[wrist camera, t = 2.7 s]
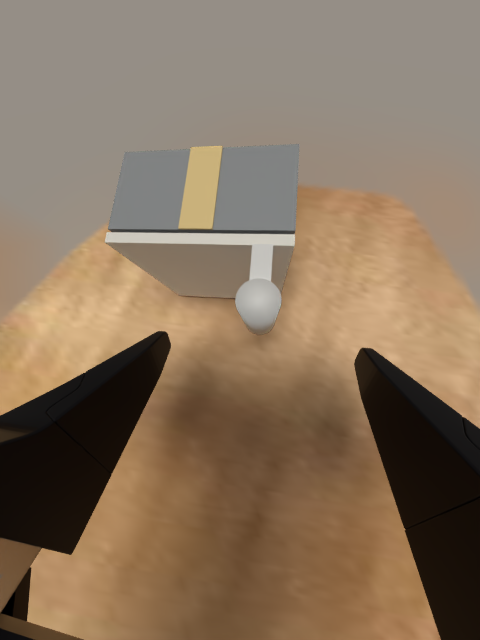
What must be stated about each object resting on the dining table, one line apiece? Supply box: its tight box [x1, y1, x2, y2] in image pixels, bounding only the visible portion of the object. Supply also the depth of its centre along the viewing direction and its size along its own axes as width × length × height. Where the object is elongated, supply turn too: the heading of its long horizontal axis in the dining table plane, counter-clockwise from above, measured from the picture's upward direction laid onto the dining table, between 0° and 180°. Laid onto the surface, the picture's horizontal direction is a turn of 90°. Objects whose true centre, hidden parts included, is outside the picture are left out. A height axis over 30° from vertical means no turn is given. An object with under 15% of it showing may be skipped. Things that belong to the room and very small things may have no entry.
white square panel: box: [105, 232, 295, 335], centre depth 14 cm, size 4×10×10 cm, turn 85°
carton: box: [108, 144, 299, 234], centre depth 15 cm, size 5×10×10 cm, turn 85°
